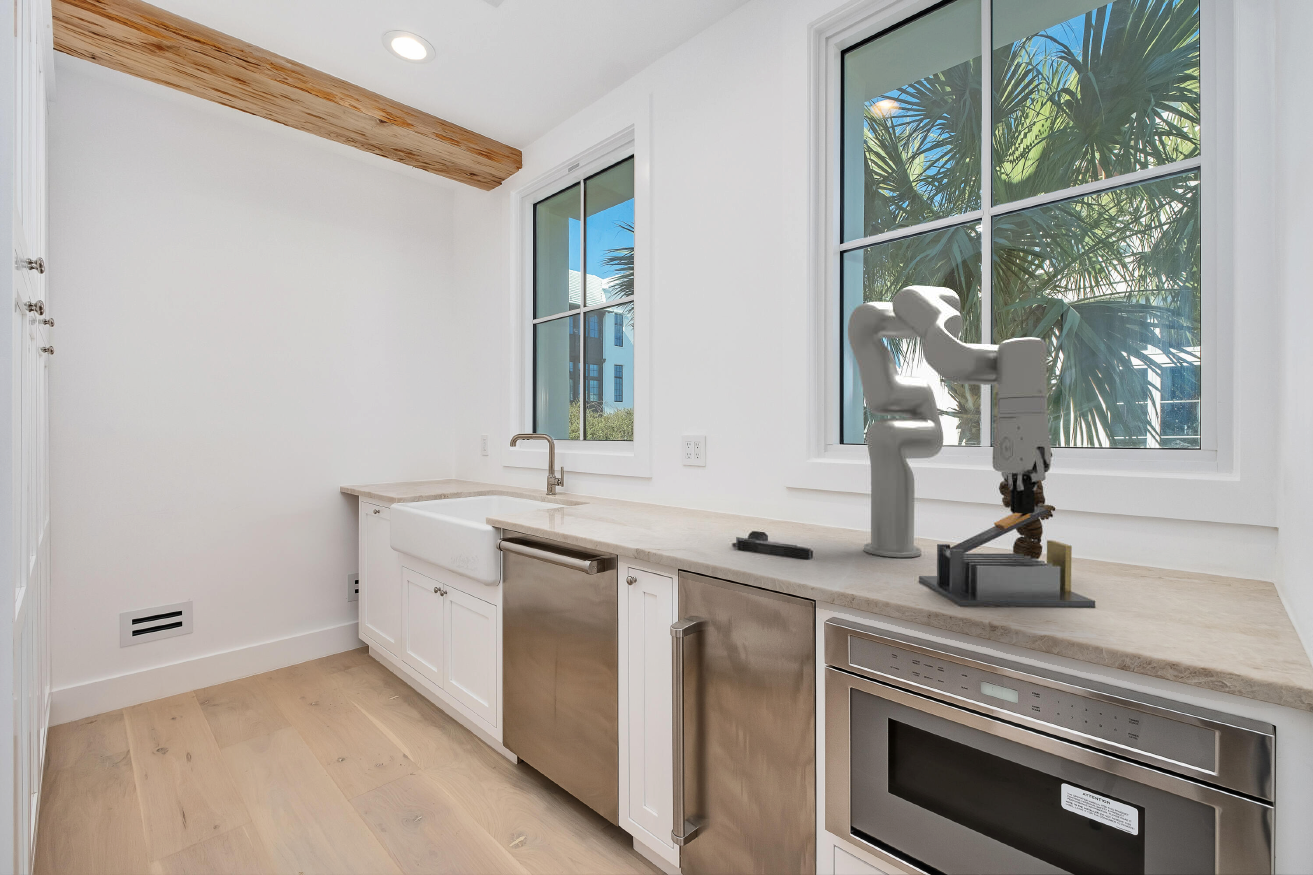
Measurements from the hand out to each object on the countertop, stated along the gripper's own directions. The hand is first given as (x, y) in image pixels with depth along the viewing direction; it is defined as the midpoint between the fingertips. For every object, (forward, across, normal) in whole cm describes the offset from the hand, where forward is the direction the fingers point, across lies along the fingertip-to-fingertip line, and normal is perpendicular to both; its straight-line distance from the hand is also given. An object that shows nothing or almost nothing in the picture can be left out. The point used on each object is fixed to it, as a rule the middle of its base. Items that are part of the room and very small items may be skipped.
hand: (1022, 512), depth 104 cm
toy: (+14, -17, +12) cm, 25 cm away
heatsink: (+14, -1, -4) cm, 15 cm away
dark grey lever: (+4, -1, -4) cm, 6 cm away
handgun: (+14, -38, -36) cm, 54 cm away
